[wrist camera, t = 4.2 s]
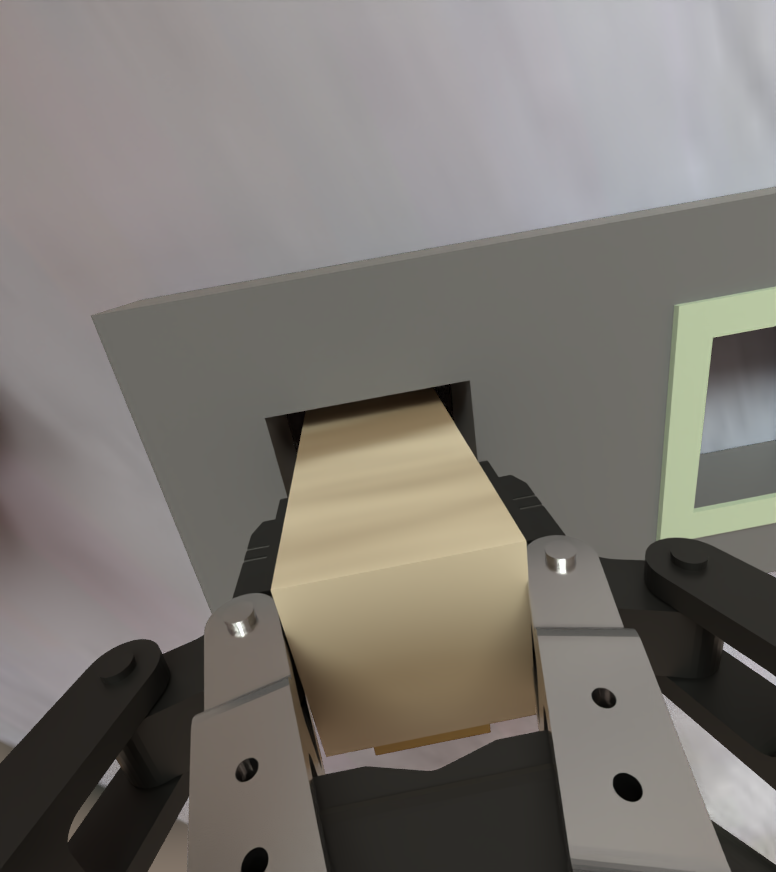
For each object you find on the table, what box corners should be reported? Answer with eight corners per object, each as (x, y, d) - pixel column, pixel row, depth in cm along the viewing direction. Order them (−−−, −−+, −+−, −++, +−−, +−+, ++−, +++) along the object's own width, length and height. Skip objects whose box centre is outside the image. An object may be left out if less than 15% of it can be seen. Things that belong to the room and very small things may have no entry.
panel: (140, 300, 14) (86, 316, 11) (928, 159, 14) (1079, 140, 11) (252, 611, 19) (236, 681, 16) (841, 497, 19) (933, 545, 16)
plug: (307, 401, 16) (270, 590, 7) (427, 379, 16) (526, 540, 7) (338, 528, 17) (337, 789, 9) (444, 507, 18) (537, 748, 9)
